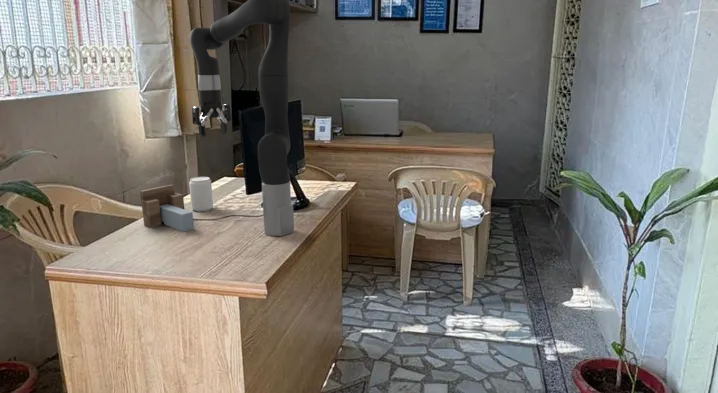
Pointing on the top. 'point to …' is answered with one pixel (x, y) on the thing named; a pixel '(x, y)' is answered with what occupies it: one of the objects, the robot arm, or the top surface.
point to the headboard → (158, 203)
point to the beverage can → (201, 193)
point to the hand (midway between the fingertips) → (213, 135)
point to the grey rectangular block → (176, 217)
